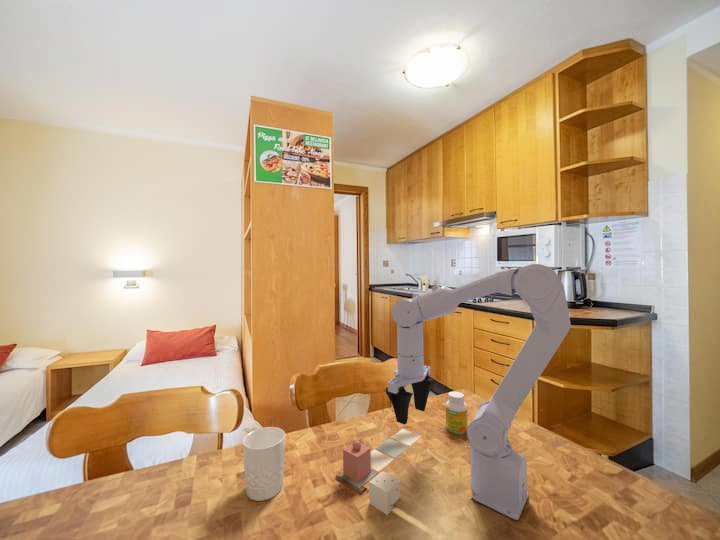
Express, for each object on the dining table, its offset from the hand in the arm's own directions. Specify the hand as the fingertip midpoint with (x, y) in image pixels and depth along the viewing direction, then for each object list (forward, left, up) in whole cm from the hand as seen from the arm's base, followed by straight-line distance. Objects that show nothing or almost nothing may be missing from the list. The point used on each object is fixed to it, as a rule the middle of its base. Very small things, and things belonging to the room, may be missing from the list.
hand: (411, 415), depth 65 cm
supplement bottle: (-2, -19, -11) cm, 22 cm away
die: (-2, +13, -10) cm, 17 cm away
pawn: (+6, +11, -10) cm, 16 cm away
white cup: (+18, +25, -11) cm, 33 cm away
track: (+6, +2, -10) cm, 12 cm away
